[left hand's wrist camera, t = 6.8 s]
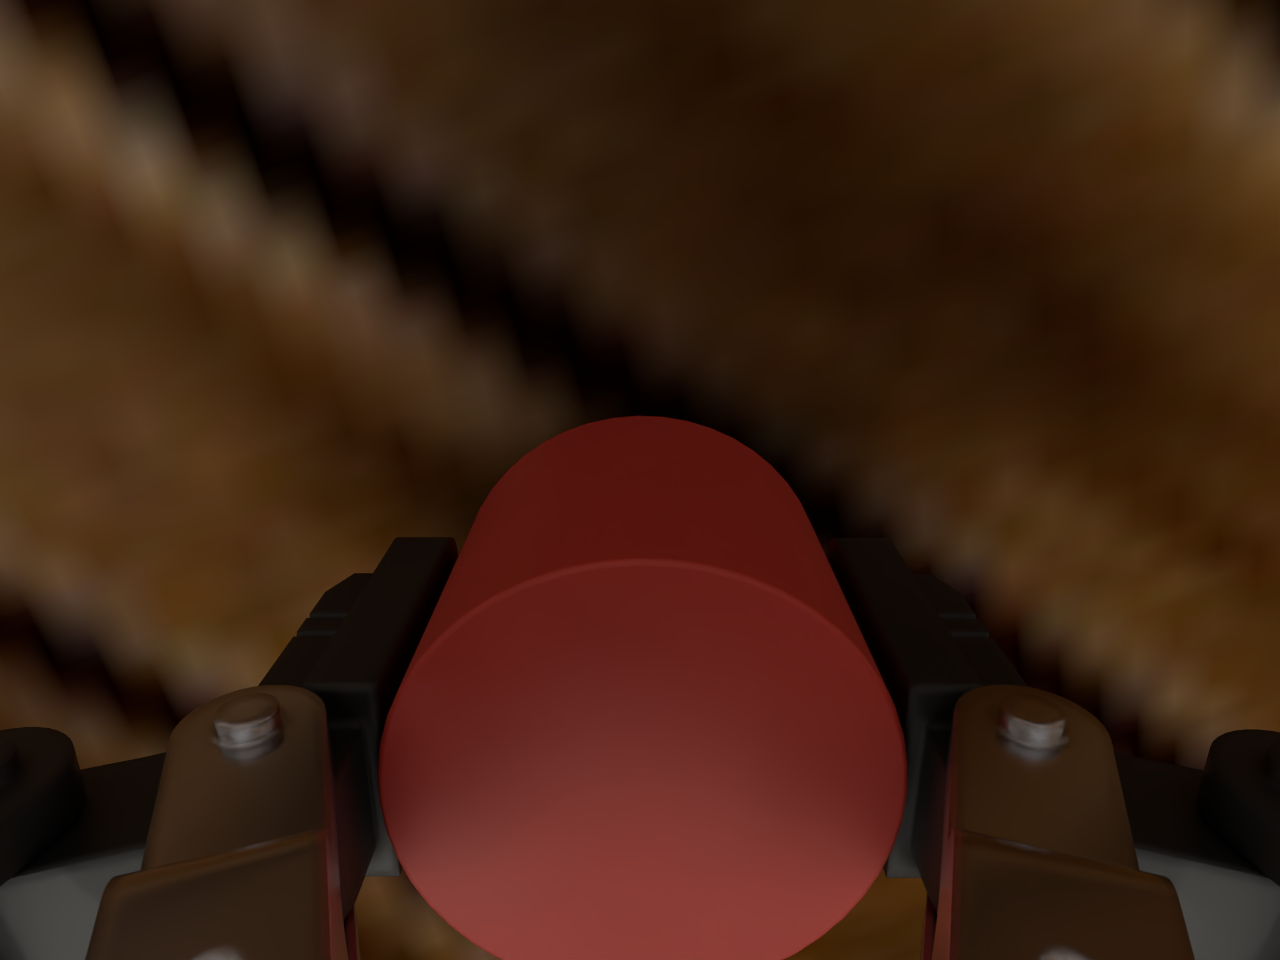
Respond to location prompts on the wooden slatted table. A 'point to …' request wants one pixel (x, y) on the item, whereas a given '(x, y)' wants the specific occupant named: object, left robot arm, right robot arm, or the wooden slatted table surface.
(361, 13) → the wooden slatted table surface
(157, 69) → the wooden slatted table surface
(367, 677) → the left robot arm
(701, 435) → the canister
